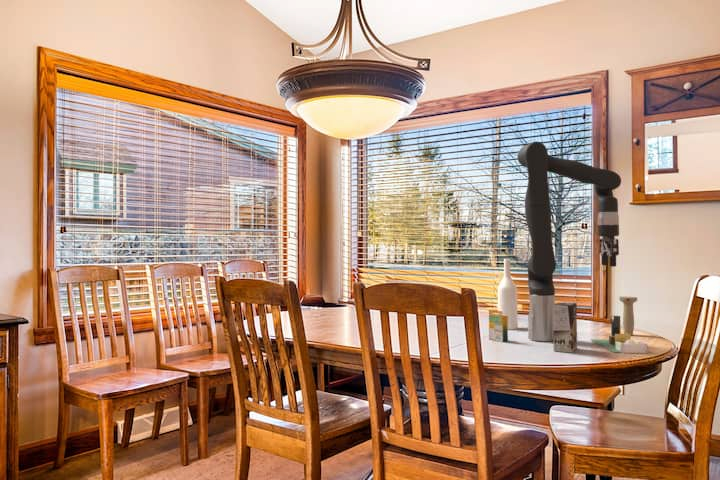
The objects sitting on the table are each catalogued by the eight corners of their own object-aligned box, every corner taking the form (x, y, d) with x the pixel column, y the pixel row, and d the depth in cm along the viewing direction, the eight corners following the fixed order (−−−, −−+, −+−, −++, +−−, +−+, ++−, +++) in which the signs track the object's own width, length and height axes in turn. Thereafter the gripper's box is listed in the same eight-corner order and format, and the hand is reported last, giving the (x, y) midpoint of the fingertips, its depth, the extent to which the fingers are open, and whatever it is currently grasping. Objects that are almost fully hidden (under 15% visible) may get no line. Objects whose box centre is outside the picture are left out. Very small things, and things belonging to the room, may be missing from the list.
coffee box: (572, 353, 183) (572, 305, 183) (553, 351, 186) (552, 304, 186) (577, 348, 190) (577, 302, 190) (558, 346, 194) (558, 301, 194)
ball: (621, 341, 187) (623, 351, 186) (625, 337, 184) (627, 348, 183) (632, 341, 187) (634, 351, 185) (636, 337, 184) (638, 348, 182)
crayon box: (508, 341, 204) (508, 310, 204) (502, 342, 203) (502, 311, 203) (494, 338, 211) (494, 308, 211) (488, 339, 209) (488, 309, 209)
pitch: (614, 352, 182) (614, 351, 182) (591, 340, 204) (591, 339, 204) (647, 353, 181) (647, 351, 181) (620, 340, 203) (620, 339, 203)
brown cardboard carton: (611, 344, 194) (611, 337, 194) (609, 343, 196) (608, 336, 196) (627, 344, 194) (627, 337, 194) (624, 343, 196) (624, 336, 196)
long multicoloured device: (607, 341, 199) (607, 315, 199) (621, 341, 198) (621, 315, 198) (615, 345, 191) (615, 318, 191) (630, 345, 190) (630, 318, 190)
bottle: (519, 329, 230) (519, 259, 230) (500, 329, 230) (500, 259, 230) (514, 326, 238) (513, 258, 238) (496, 326, 238) (495, 258, 238)
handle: (637, 336, 211) (637, 298, 211) (619, 335, 214) (619, 297, 214) (637, 334, 215) (637, 296, 215) (619, 333, 218) (619, 296, 218)
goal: (620, 352, 182) (620, 344, 182) (615, 350, 186) (615, 341, 186) (647, 353, 181) (647, 344, 181) (641, 350, 186) (641, 341, 186)
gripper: (592, 224, 217) (592, 265, 217) (604, 223, 203) (605, 267, 203) (611, 224, 216) (612, 264, 216) (625, 223, 202) (626, 266, 202)
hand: (608, 265), depth 210 cm, fingers open, 8 cm apart
